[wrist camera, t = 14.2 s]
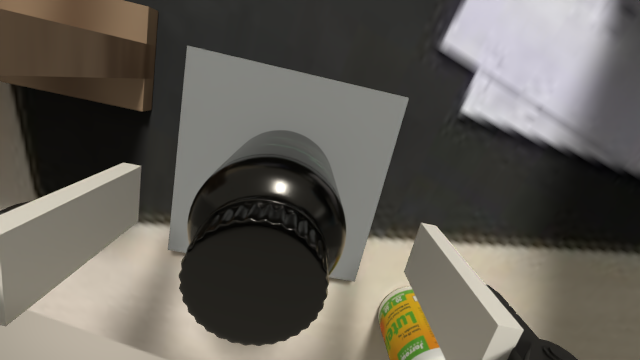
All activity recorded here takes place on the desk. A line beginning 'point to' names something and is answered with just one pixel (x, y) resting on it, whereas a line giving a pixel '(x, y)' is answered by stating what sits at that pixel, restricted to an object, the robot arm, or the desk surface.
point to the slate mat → (292, 115)
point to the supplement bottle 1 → (263, 241)
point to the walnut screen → (81, 49)
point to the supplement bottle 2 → (407, 328)
